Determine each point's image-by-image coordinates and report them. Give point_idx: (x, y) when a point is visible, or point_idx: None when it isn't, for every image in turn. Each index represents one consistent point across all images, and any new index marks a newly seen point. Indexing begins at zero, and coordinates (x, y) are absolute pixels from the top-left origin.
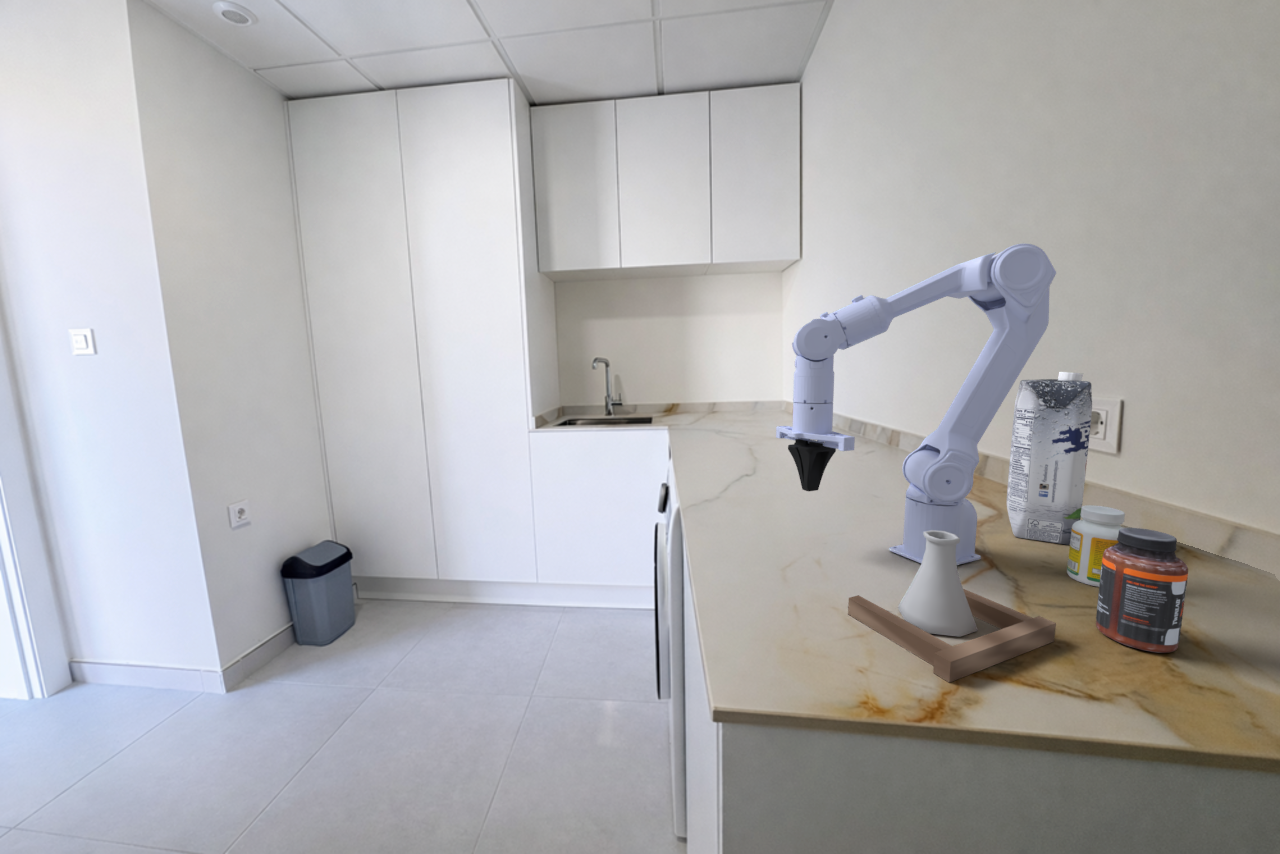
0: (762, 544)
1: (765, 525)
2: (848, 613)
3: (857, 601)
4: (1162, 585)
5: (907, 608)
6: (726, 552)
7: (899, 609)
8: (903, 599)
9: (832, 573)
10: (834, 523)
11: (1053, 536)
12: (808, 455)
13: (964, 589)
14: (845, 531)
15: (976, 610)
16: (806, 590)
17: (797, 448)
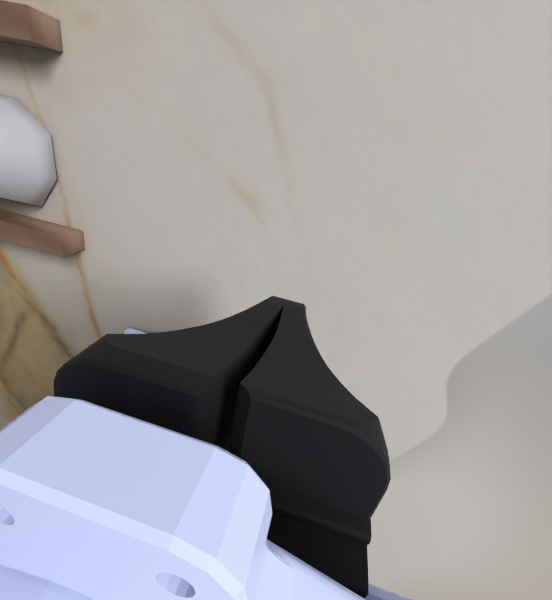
0: (410, 180)
1: (492, 309)
2: (56, 19)
3: (10, 8)
4: None
5: (4, 107)
6: (459, 14)
7: (41, 126)
8: (24, 131)
9: (196, 172)
10: None
11: None
12: (130, 335)
13: (16, 242)
14: None
15: (1, 214)
16: (162, 33)
17: (238, 397)
